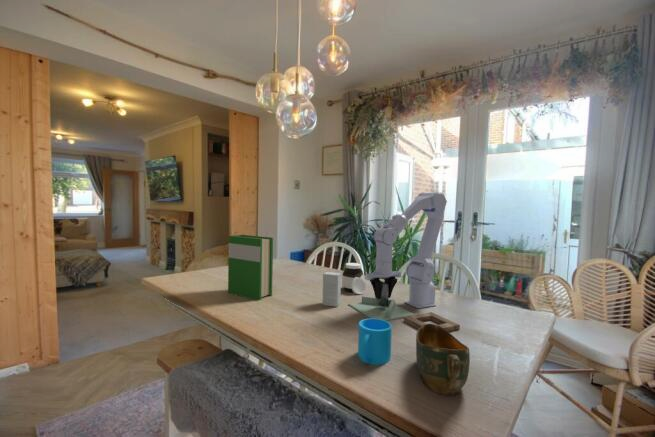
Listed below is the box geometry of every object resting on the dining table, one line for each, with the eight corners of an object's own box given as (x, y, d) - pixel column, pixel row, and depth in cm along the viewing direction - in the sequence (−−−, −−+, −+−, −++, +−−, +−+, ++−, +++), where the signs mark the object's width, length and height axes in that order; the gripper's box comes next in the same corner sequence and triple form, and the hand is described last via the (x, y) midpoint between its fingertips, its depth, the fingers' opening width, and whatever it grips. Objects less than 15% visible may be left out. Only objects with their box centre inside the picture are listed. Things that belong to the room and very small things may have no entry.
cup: (393, 389, 63) (395, 341, 62) (422, 352, 79) (424, 314, 79) (460, 415, 56) (463, 360, 55) (476, 369, 72) (479, 327, 72)
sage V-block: (382, 300, 123) (383, 292, 123) (415, 315, 106) (415, 307, 106) (348, 304, 116) (348, 296, 116) (376, 322, 99) (377, 313, 99)
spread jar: (351, 286, 144) (351, 261, 143) (372, 290, 137) (373, 264, 136) (336, 291, 134) (337, 265, 133) (359, 296, 127) (360, 268, 127)
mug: (365, 345, 82) (366, 316, 82) (395, 354, 78) (396, 322, 78) (345, 365, 72) (346, 331, 72) (377, 375, 68) (378, 339, 67)
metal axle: (387, 302, 113) (388, 281, 113) (389, 306, 109) (389, 284, 109) (376, 302, 113) (377, 281, 113) (377, 306, 109) (378, 284, 109)
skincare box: (340, 303, 117) (341, 273, 116) (337, 307, 113) (338, 275, 112) (325, 301, 119) (326, 271, 118) (321, 305, 115) (322, 273, 114)
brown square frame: (431, 316, 106) (431, 312, 106) (459, 329, 95) (459, 324, 95) (403, 321, 101) (404, 316, 101) (430, 335, 90) (430, 330, 90)
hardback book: (272, 295, 125) (273, 237, 124) (259, 300, 119) (260, 239, 118) (241, 288, 134) (242, 234, 133) (228, 292, 128) (228, 235, 127)
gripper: (393, 258, 117) (392, 292, 118) (361, 260, 111) (360, 296, 112) (405, 261, 111) (404, 298, 112) (371, 263, 105) (370, 302, 105)
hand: (382, 297), depth 111 cm, fingers closed on metal axle, 4 cm apart
